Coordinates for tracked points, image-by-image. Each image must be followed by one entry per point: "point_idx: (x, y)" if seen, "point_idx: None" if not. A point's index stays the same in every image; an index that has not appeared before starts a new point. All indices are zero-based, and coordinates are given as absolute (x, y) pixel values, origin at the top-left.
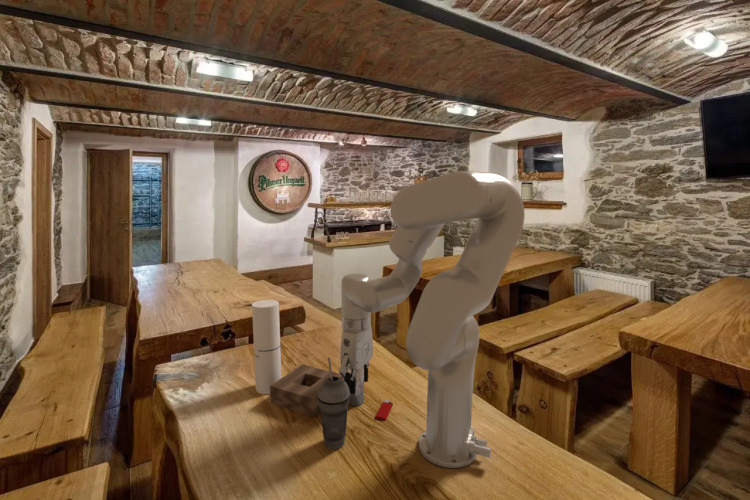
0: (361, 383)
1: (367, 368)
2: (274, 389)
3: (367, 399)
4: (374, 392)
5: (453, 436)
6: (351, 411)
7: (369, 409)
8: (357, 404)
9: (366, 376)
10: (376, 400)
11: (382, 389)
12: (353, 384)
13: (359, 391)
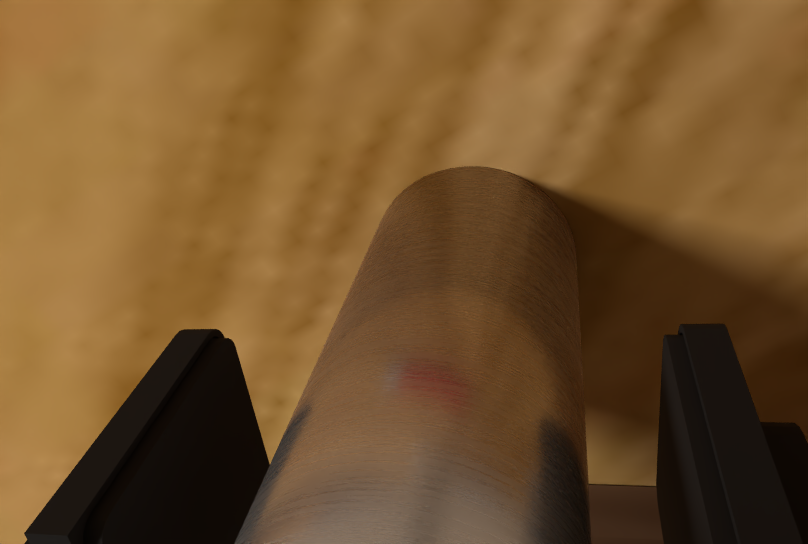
0: (467, 370)
1: (55, 537)
2: None
3: (337, 170)
4: (145, 178)
5: None
6: (711, 202)
7: (539, 5)
8: (551, 211)
9: (181, 406)
10: (278, 47)
11: (15, 125)
12: (774, 489)
13: (521, 297)
